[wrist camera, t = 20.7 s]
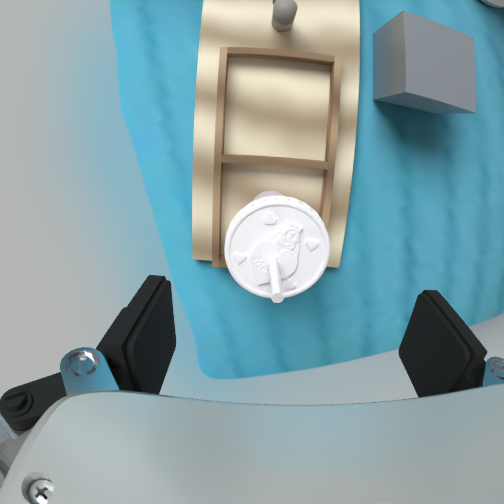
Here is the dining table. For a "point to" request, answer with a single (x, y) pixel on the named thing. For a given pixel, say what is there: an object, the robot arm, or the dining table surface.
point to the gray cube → (424, 66)
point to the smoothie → (276, 246)
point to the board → (274, 113)
